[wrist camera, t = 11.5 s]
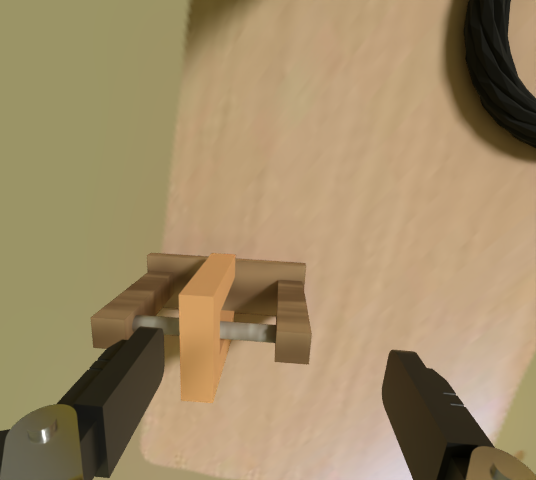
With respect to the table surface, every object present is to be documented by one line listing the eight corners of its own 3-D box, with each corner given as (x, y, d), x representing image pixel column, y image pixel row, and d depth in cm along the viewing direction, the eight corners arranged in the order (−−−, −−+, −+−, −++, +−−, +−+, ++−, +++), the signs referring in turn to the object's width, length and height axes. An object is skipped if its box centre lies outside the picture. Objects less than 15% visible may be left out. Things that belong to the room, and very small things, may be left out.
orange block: (211, 253, 36) (178, 294, 24) (235, 254, 36) (213, 296, 24) (211, 330, 38) (181, 400, 27) (233, 331, 38) (212, 403, 27)
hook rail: (151, 252, 40) (85, 296, 26) (305, 263, 39) (317, 313, 26) (152, 302, 41) (92, 366, 28) (300, 313, 41) (309, 383, 27)
